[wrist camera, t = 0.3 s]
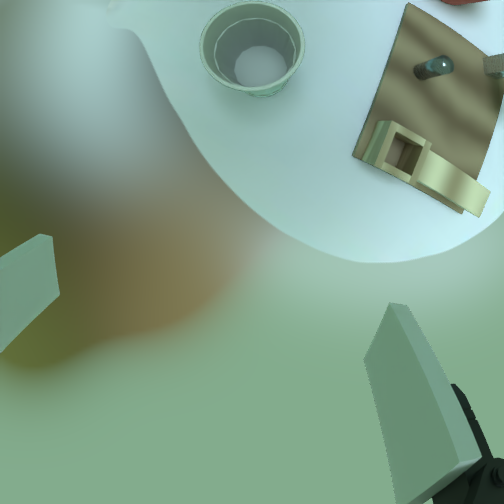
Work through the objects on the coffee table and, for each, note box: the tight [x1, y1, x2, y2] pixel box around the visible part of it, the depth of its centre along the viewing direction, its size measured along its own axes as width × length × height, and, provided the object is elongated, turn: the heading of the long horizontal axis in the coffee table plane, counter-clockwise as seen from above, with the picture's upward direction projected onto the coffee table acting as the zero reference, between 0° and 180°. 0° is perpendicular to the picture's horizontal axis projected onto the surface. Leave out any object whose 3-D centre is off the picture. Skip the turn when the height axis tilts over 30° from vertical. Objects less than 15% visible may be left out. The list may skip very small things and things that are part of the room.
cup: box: [199, 1, 305, 97], centre depth 24 cm, size 8×8×12 cm
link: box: [362, 120, 490, 218], centre depth 29 cm, size 15×5×5 cm, turn 70°
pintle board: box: [352, 3, 504, 214], centre depth 28 cm, size 22×17×1 cm
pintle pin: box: [413, 55, 454, 80], centre depth 23 cm, size 2×2×6 cm
